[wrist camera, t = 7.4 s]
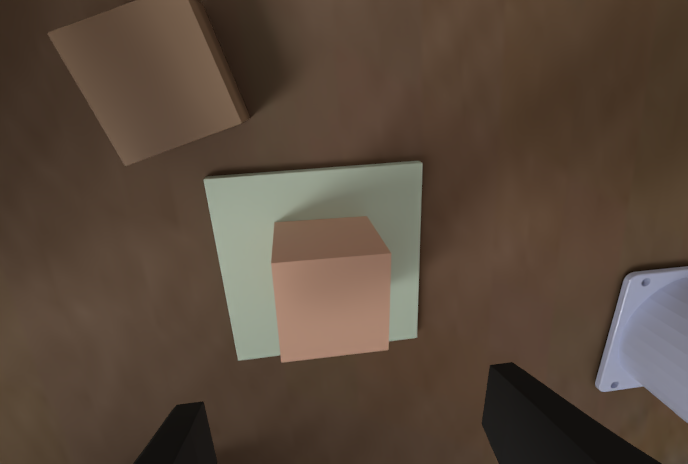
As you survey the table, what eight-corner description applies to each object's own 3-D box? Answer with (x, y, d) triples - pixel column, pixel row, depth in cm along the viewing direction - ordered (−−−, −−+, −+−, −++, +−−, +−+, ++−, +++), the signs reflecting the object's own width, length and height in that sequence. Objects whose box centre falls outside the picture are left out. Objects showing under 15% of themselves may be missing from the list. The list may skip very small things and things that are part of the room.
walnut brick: (203, 6, 13) (181, -17, 10) (250, 117, 15) (241, 123, 12) (98, 45, 13) (46, 32, 10) (156, 151, 15) (125, 166, 12)
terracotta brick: (367, 216, 16) (391, 253, 12) (366, 295, 17) (388, 350, 14) (274, 222, 16) (270, 263, 12) (282, 303, 17) (281, 362, 13)
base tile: (413, 157, 17) (422, 162, 15) (409, 324, 20) (416, 337, 19) (209, 173, 16) (203, 179, 15) (241, 345, 19) (238, 360, 18)
